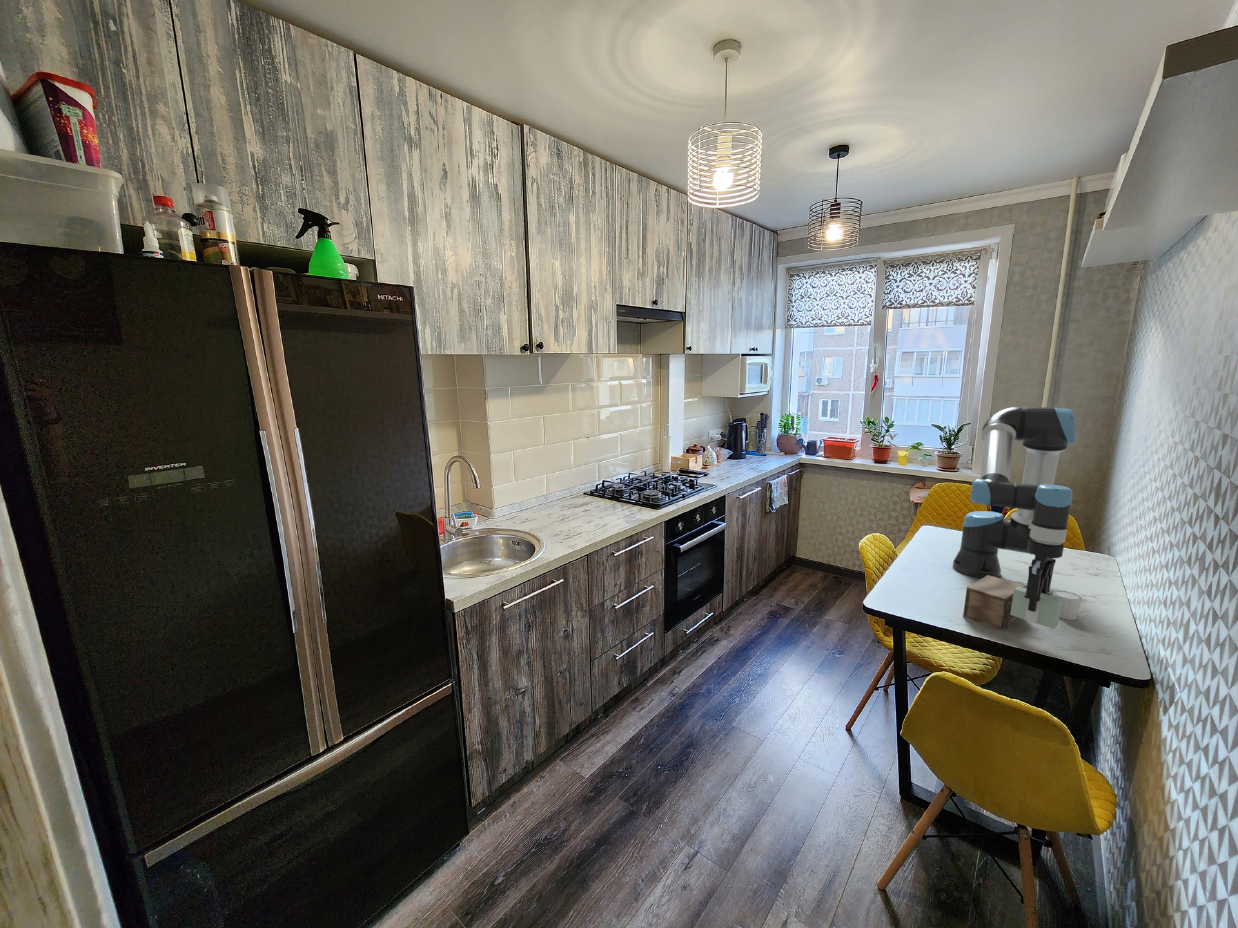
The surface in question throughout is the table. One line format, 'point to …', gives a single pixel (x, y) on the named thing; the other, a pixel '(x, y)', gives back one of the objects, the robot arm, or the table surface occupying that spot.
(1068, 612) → the shot glass
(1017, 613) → the pale green rectangular block
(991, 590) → the cabinet
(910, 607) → the table surface
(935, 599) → the table surface
